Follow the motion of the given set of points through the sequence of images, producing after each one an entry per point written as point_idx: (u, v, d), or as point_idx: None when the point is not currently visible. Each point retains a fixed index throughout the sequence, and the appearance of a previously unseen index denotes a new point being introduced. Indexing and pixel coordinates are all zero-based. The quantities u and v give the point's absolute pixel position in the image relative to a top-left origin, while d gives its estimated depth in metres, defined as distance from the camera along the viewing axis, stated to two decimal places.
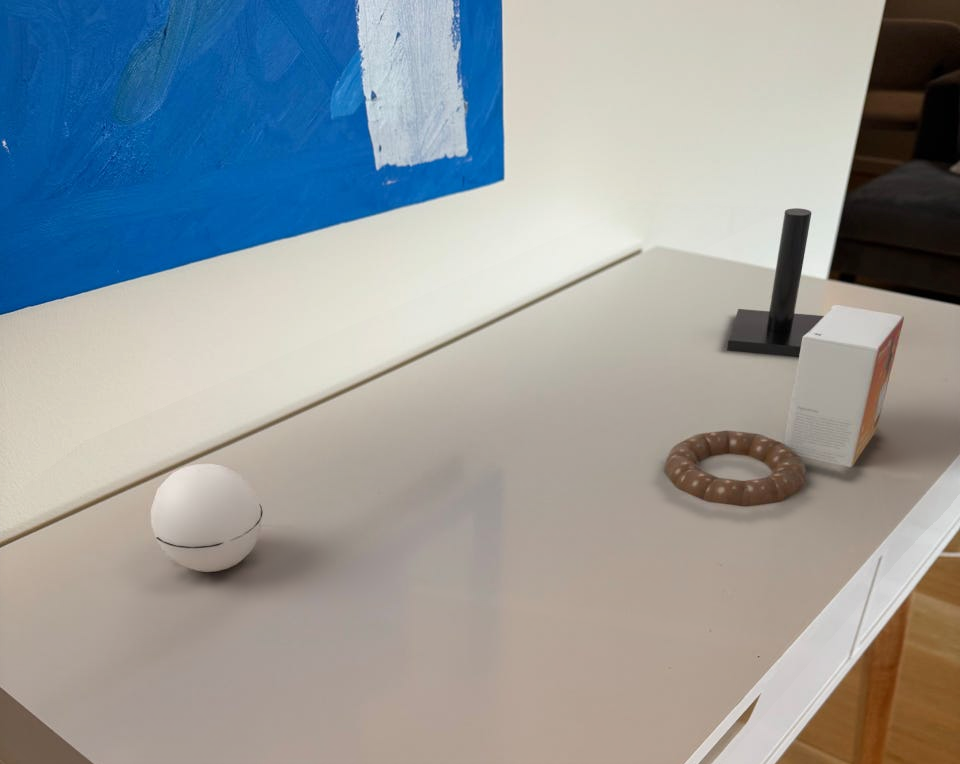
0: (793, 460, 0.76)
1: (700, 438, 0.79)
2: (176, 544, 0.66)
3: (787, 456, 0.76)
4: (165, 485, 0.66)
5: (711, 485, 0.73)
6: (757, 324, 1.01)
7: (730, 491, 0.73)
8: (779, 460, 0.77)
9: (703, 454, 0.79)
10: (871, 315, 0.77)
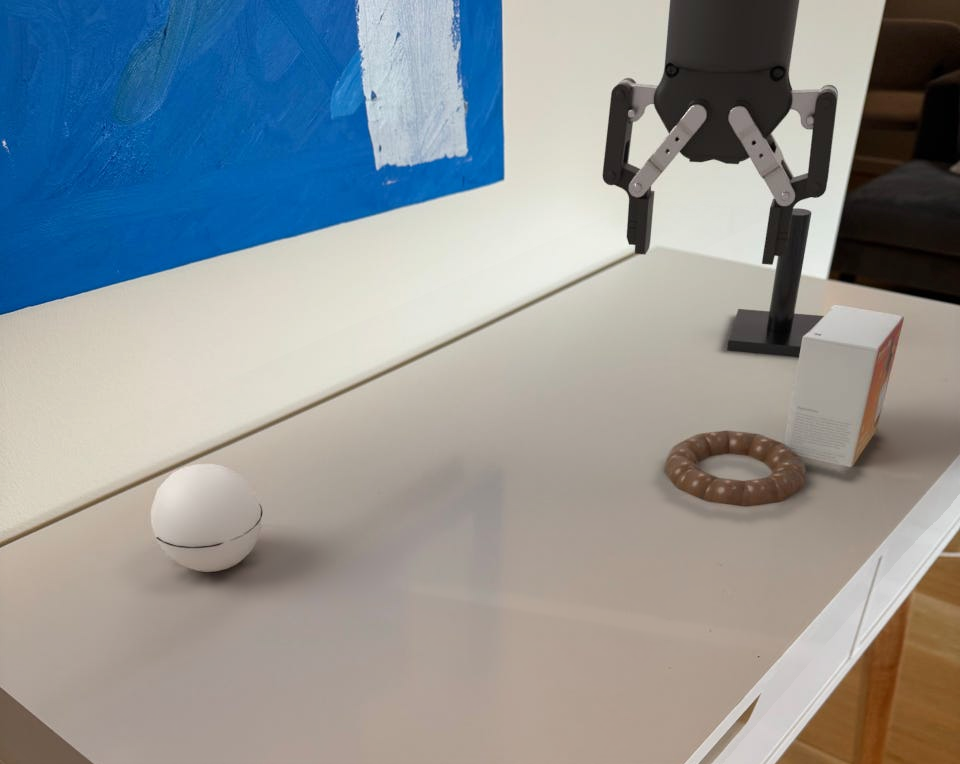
0: (793, 460, 0.76)
1: (700, 438, 0.79)
2: (176, 544, 0.66)
3: (787, 456, 0.76)
4: (165, 485, 0.66)
5: (711, 485, 0.73)
6: (757, 324, 1.01)
7: (730, 491, 0.73)
8: (779, 460, 0.77)
9: (703, 454, 0.79)
10: (871, 315, 0.77)
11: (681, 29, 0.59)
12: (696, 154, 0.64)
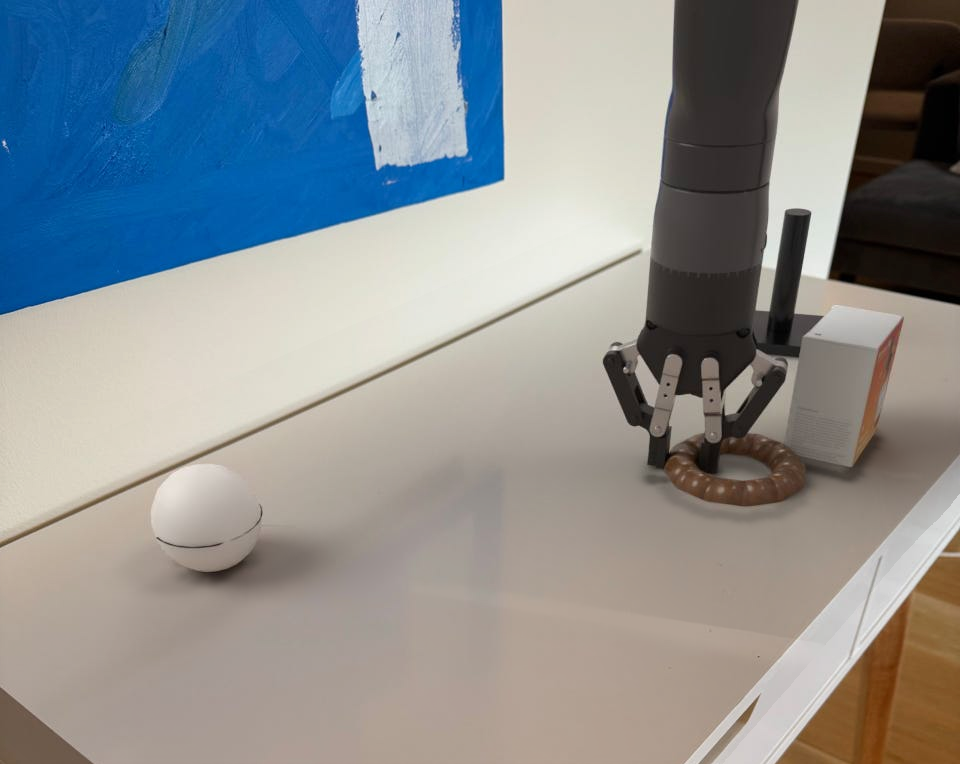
0: (793, 460, 0.76)
1: (700, 438, 0.79)
2: (176, 544, 0.66)
3: (786, 456, 0.76)
4: (165, 485, 0.66)
5: (711, 485, 0.73)
6: (757, 324, 1.01)
7: (730, 491, 0.73)
8: (778, 460, 0.77)
9: None
10: (871, 315, 0.77)
11: (659, 299, 0.68)
12: None
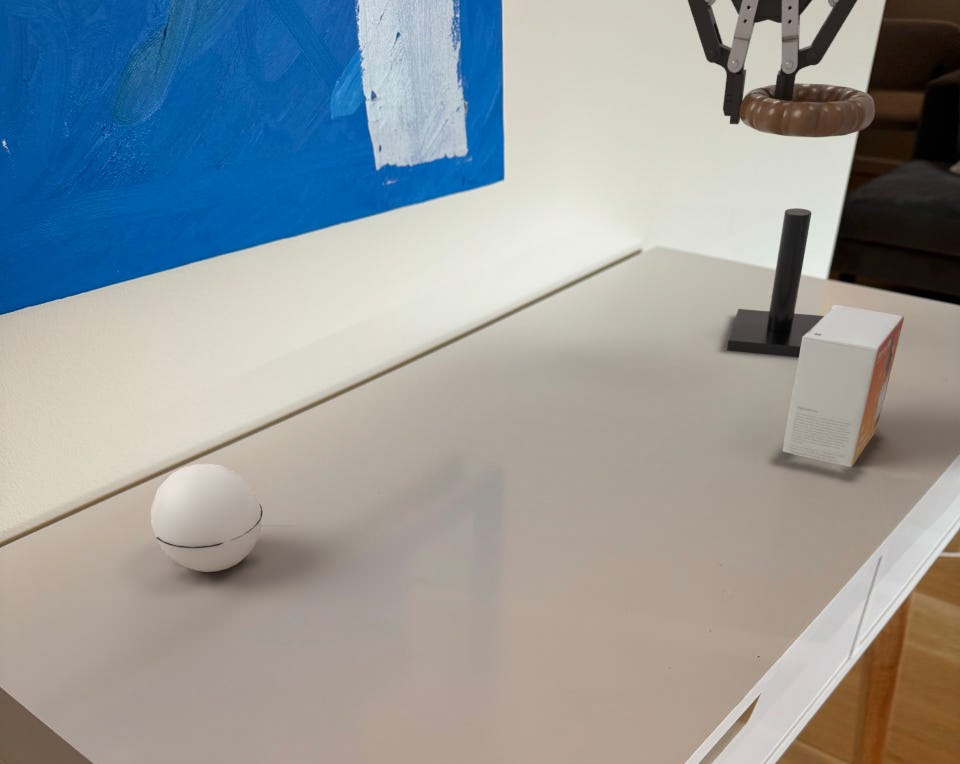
0: (863, 93, 0.80)
1: (771, 86, 0.83)
2: (176, 544, 0.66)
3: (856, 92, 0.80)
4: (165, 485, 0.66)
5: (789, 106, 0.77)
6: (757, 324, 1.01)
7: (808, 110, 0.77)
8: (849, 97, 0.81)
9: None
10: (871, 315, 0.77)
11: None
12: None
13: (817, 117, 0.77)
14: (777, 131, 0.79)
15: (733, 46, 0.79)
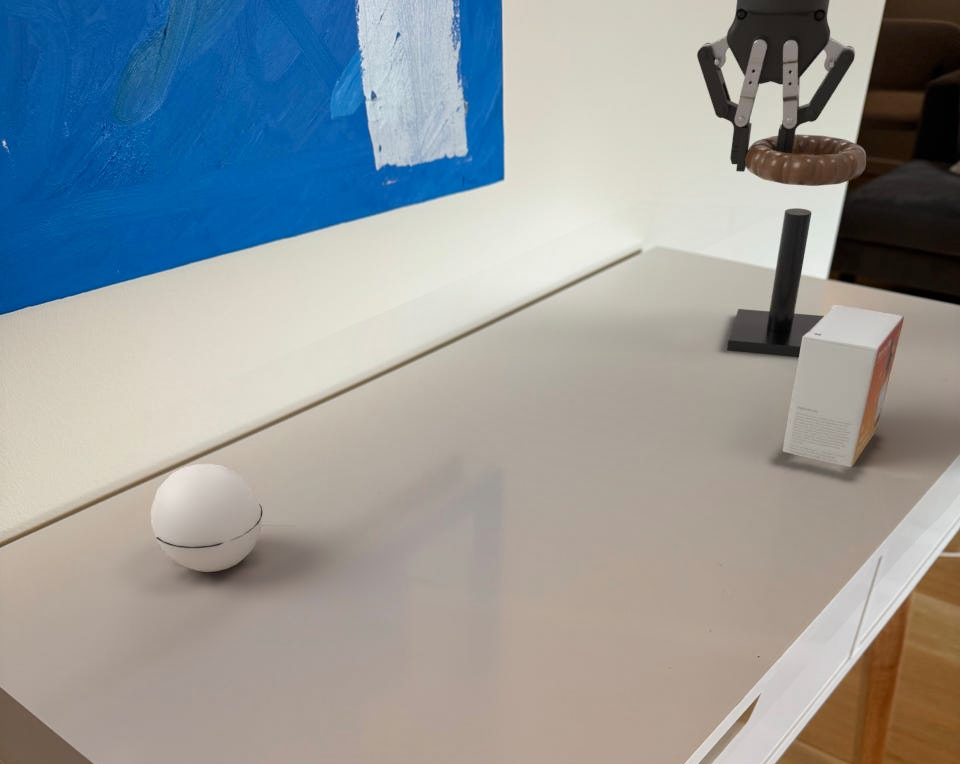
0: (856, 146, 0.89)
1: (774, 137, 0.92)
2: (176, 544, 0.66)
3: (850, 144, 0.90)
4: (165, 485, 0.66)
5: (789, 158, 0.87)
6: (757, 324, 1.01)
7: (805, 162, 0.87)
8: (843, 148, 0.90)
9: None
10: (871, 315, 0.77)
11: None
12: None
13: (814, 168, 0.86)
14: (778, 180, 0.88)
15: (739, 104, 0.89)
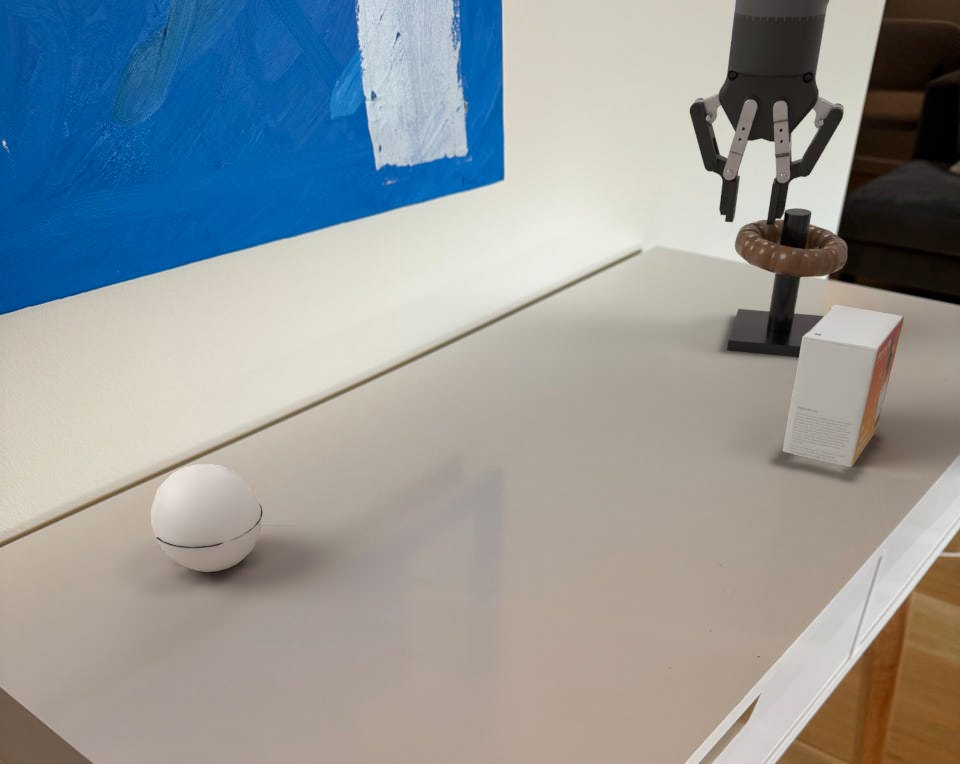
0: (839, 240, 0.94)
1: (763, 222, 0.97)
2: (176, 544, 0.66)
3: (833, 237, 0.95)
4: (165, 485, 0.66)
5: (777, 250, 0.92)
6: (757, 324, 1.01)
7: (792, 255, 0.91)
8: (827, 241, 0.95)
9: (765, 234, 0.97)
10: (871, 315, 0.77)
11: (741, 46, 0.85)
12: (748, 135, 0.90)
13: (799, 262, 0.91)
14: (765, 268, 0.93)
15: (729, 158, 0.91)
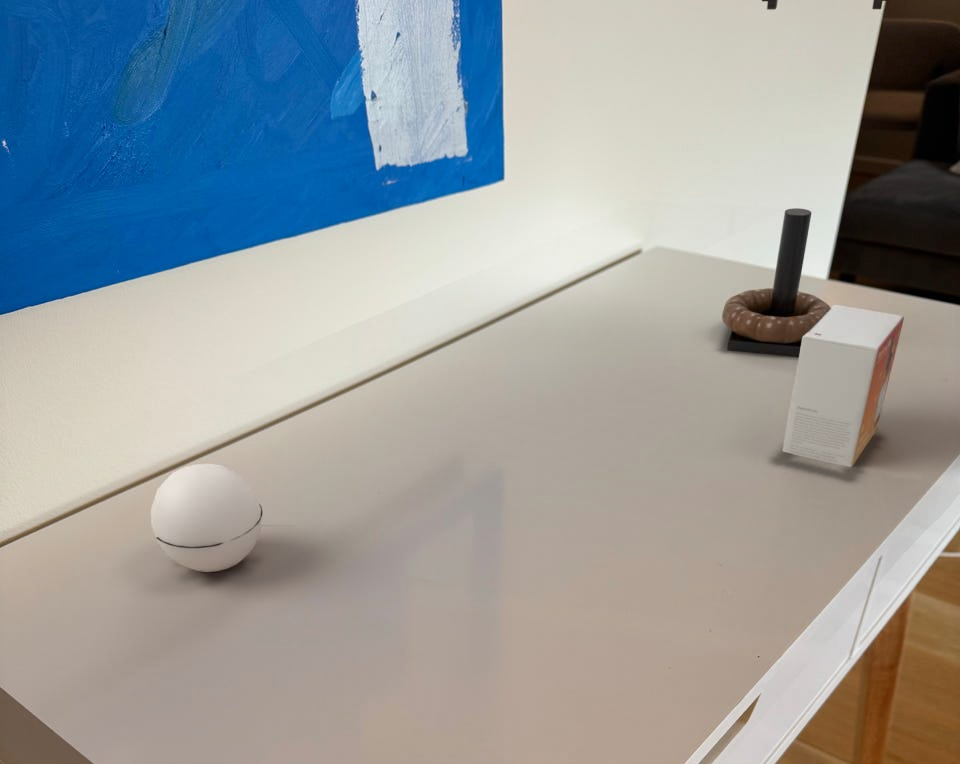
0: (822, 304, 0.98)
1: (748, 293, 1.01)
2: (176, 544, 0.66)
3: (817, 302, 0.99)
4: (165, 485, 0.66)
5: (762, 320, 0.96)
6: None
7: (776, 324, 0.95)
8: (811, 305, 0.99)
9: (751, 304, 1.01)
10: (871, 315, 0.77)
11: None
12: None
13: (784, 330, 0.95)
14: (752, 338, 0.97)
15: None
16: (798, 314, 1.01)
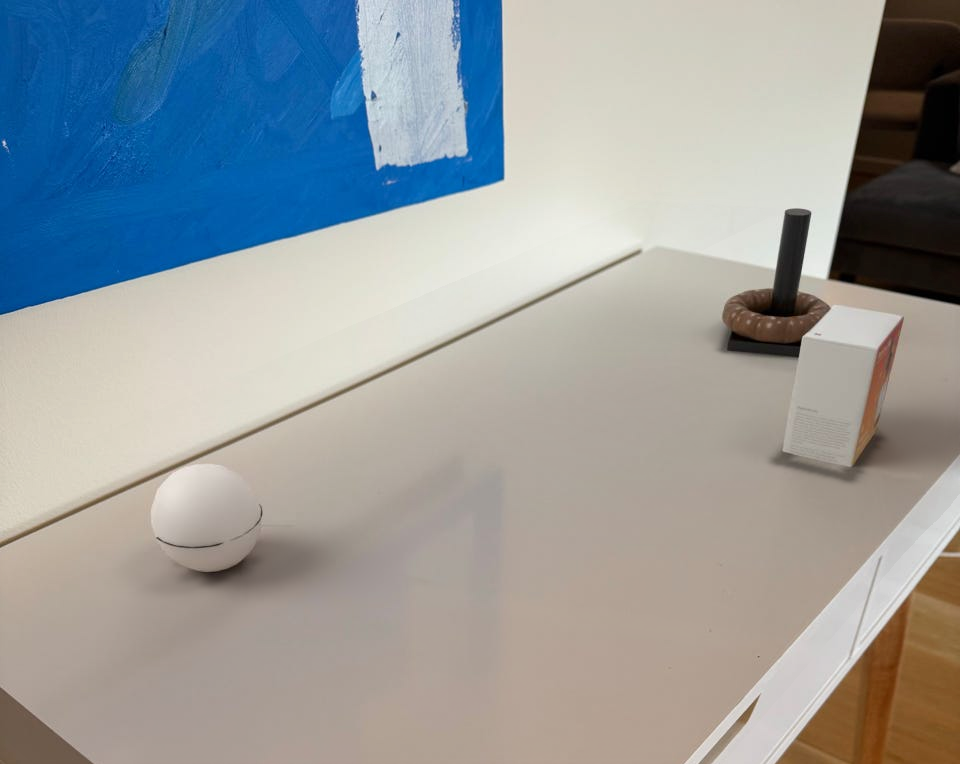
0: (822, 304, 0.98)
1: (748, 293, 1.01)
2: (176, 544, 0.66)
3: (817, 302, 0.99)
4: (165, 485, 0.66)
5: (762, 320, 0.96)
6: None
7: (776, 324, 0.95)
8: (811, 305, 0.99)
9: (751, 304, 1.01)
10: (871, 315, 0.77)
11: None
12: None
13: (784, 330, 0.95)
14: (752, 338, 0.97)
15: None
16: (798, 314, 1.01)
